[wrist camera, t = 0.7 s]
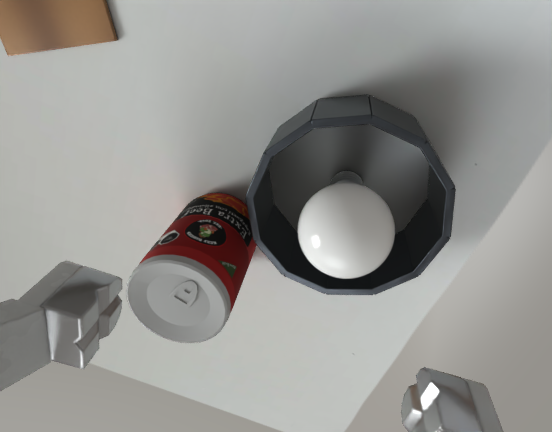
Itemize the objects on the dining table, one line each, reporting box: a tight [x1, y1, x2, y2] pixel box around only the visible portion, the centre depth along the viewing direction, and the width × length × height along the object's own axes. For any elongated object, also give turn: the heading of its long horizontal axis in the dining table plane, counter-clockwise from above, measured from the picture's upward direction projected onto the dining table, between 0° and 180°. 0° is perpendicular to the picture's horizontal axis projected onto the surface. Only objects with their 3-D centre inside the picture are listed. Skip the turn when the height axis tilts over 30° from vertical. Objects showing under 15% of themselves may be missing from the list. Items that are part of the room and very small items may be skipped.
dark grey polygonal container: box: [246, 95, 456, 295], centre depth 29 cm, size 14×14×6 cm
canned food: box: [126, 193, 256, 343], centre depth 32 cm, size 8×8×11 cm
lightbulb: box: [298, 171, 395, 279], centre depth 27 cm, size 6×6×11 cm
